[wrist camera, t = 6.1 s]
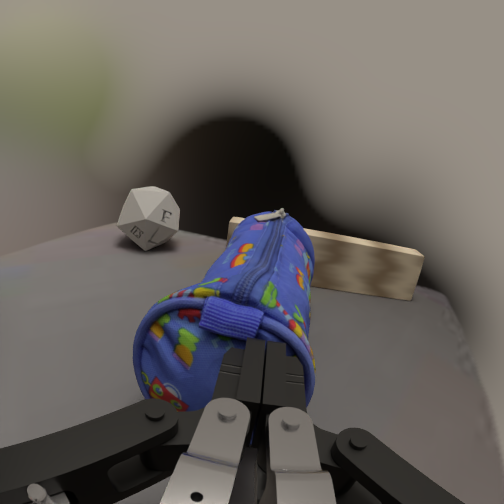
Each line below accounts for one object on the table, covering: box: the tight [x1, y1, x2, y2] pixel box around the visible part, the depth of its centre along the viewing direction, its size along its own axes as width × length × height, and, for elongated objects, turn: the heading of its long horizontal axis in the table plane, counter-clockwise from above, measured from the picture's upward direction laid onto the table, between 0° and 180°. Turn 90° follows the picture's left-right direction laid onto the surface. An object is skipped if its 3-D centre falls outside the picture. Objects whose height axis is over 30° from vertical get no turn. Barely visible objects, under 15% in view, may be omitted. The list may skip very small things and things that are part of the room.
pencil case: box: [133, 208, 316, 445], centre depth 23 cm, size 22×9×10 cm, turn 169°
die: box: [117, 186, 180, 251], centre depth 41 cm, size 8×9×10 cm
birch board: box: [226, 217, 425, 301], centre depth 38 cm, size 24×3×6 cm, turn 85°
